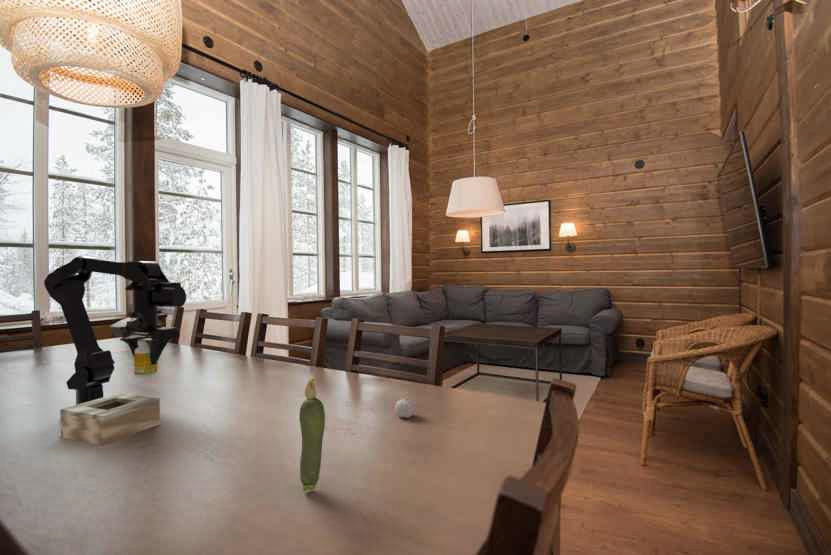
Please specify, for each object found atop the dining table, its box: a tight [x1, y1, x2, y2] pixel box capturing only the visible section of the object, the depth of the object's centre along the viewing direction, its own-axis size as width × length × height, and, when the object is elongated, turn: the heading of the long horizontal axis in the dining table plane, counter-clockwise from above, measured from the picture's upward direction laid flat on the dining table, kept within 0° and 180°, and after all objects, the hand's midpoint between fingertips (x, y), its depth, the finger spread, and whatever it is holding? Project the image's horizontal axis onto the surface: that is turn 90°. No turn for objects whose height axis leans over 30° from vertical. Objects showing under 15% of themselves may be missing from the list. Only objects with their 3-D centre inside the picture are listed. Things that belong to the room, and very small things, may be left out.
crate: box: [59, 392, 161, 446], centre depth 104 cm, size 14×14×6 cm
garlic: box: [394, 397, 416, 419], centre depth 114 cm, size 6×5×5 cm
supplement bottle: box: [133, 338, 159, 378], centre depth 118 cm, size 5×5×10 cm
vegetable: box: [299, 378, 326, 492], centre depth 76 cm, size 4×4×20 cm
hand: (146, 363), depth 118 cm, fingers closed on supplement bottle, 5 cm apart
